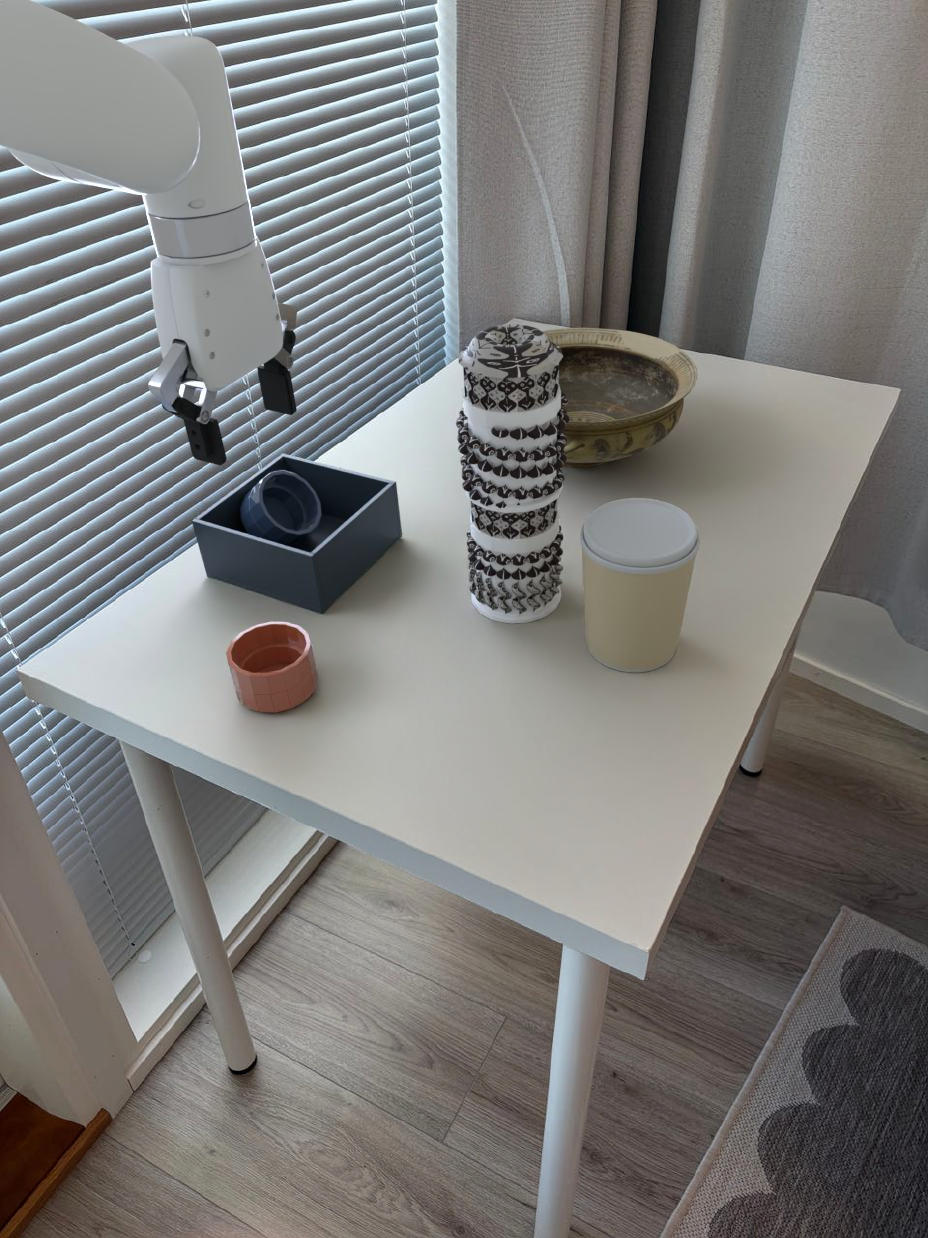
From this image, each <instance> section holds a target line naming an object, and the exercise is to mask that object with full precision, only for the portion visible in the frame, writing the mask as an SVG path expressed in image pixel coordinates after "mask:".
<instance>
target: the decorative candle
mask: <svg viewBox="0 0 928 1238" xmlns="http://www.w3.org/2000/svg"><path fill="white" fill-rule="evenodd" d="M542 331H543V330H541V329H539V328H537V327H534V326H531V325H528V324H518V323H508V324H499V325H494V326H490V327H487V328H485V329H483V330H481V331H479V332H478V333H476V335H475V336H474V337H473V338H472V339H471V341H470V343H469V344H467V345H465V346H464V348H463V349H462V350H460V352H459V353H458V364H459V365H460V366H461V367H462V369H463V371H462V372H463V386H464V387H463V389H462V403H463V404H462V405H463V406H462V408H460V409H459V412H458V416H459V417H458V418H457V419H456V421H455V425H456V427H457V429H458V430H457V436H456V437H457V438H456V439H457V442H458V444H459V445H458V448H457V451H458V452H459V453H460V454H461V455H462V456H461V457H460V461H459V462H460V465H461V466H462V468H461V479H462V480H463V483H462V489H463V490H464V494H465V496H466V497H467V498H468V499H469V500H470V511H469V528H470V529H468V530H467V531H466V537H467V541H466V546H467V552H468V553H469V554H468V555H467V560H468V562H467V567H468V581H469V587H468V588H469V591H470V597H471V604H472V606H473V607H474V608H475V610H476V611H477V612H478V614H481V615H482V616H484V617H486V618H488V619H490V620H492V621H494V622H499V623H505V624H527V623H528V624H529V623H531V622H534V621H538V620H540V619H544V618H546V617H547V616H548V615H550V613H552V612H553V611H555V610H556V609H557V608H558V606H559V604H560V601H561V600H562V592H561V585H563V583H564V582H563V579H561V578H560V577H561V574H562V572H563V570H564V567H563V565H561V564H560V562H561V561H562V557H561V556H563V554H564V550H563V548H562V547H561V545H562V541H563V540H564V535H563V533H562V526H561V525H560V514H559V508H558V499H559V496H560V495H561V493H562V491H563V489H564V482H565V475H564V474H563V470H562V468H563V467H564V465H563V463H564V462H566V460H567V457H566V455H565V454H564V453H565V451H564V448H565V444H566V443H567V438H566V436H565V435H564V432H563V431H562V430H563V429H564V428H565V427H566V423H568V422H569V416H568V415H567V411H566V410H565V409H564V408H562V407H563V406H565V405H567V404H568V400H566V399H564V398H565V397H566V395H565V394H563V392H561V390H560V386H559V362H560V360H561V359H562V358H563V354H562V350H561V348H560V347H559V346H557V345H556V344H554V343H553V342H552V341H550V339H549V338H548V336H547V335H546V334H545V333H543V332H542ZM561 405H562V407H561ZM557 416H558V421H557ZM465 421H467V422H465Z"/></svg>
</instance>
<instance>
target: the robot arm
mask: <svg viewBox="0 0 928 1238" xmlns="http://www.w3.org/2000/svg"><path fill="white" fill-rule="evenodd" d="M234 114H235V113H234V109H233V105H232V98H231V93H230V86H229V81H228V77H227V71H226V67H225V63H224V59H223V56H222V53H221V52H220V50H219V48H218V47H217V45H215V44H214V43H213V42H212V41H211V40H209V39H207V38H204V37H201V36H195V35H165V36H163V35H162V36H155V37H147V38H142V39H137V40H133V41H130V42H127V43H123V42H121V41H119V40H117V39H115V38H114V37H111V36H109V35H107V34H106V33H104V32H102V31H100V30H97V29H96V28H93V27H91V26H90V25H88V24H86V23H85V22H84V23H83V22H81V21H80V20H78V19H75V18H73V17H72V16H69V15H67V14H64V13H62V12H60V11H57V10H55V9H54V8H51V7H48V6H46V5H44V4H41V3H39V2H37V1H34V0H0V147H3V148H6V149H7V151H8V152H9V153H10V154H11V155H12V156H13V157H14V158H15V159H16V160H17V161H18V162H20V163H21V164H23V165H24V166H25V167H26V168H28V169H30V170H32V171H34V172H36V173H37V174H39V175H42V176H45V177H48V178H51V179H54V180H59V181H63V182H69V183H75V184H80V185H85V186H91V187H93V186H94V187H99V188H105V189H110V190H115V191H119V192H124V193H128V194H133V195H139V196H142V201H143V204H144V207H145V208H144V209H145V213H146V217H147V221H148V225H149V229H150V233H151V236H152V237H151V238H152V241H153V245H154V249H155V253H156V258H154V259H152V260H151V261H150V285H151V297H152V303H153V304H152V307H153V314H154V319H155V320H154V321H155V325H156V332H157V337H158V342H159V348H160V352H161V357H162V361H161V362H160V364H159V366H158V367H157V369H156V371H155V372H154V373H153V374H152V377H151V378H150V380H149V382H148V384H147V387H148V390H149V392H150V393H151V394H152V396H153V397H154V398H155V399H156V400H157V401H158V403H160V404H161V408H162V409H163V410H165V411H167V412H168V413H170V414H171V415H174V416H175V418H177V419H179V420H183V424H184V428H185V432H186V435H187V440H188V444H189V447H190V451H191V455H192V457H193V458H194V459H195V460H197V461H201V462H204V463H208V464H213V465H217V466H222V465H224V464H225V463H227V454H226V449H225V445H224V441H223V436H222V432H221V428H220V424H219V421H218V419H217V418H213V417H212V414H213V410H214V406H215V402H216V398H217V395H218V394H217V393H218V392H220V391H222V390H224V389H226V388H227V387H230V385H233V384H234V383H236V382H238V381H239V380H240V379H242V378H243V377H246V376H247V375H249V374H250V373H253V371H255V370H256V369H257V377H258V381H259V386H260V392H261V396H262V402H263V406H264V407H263V408H264V409H265V410H266V411H270V412H276V413H279V414H284V415H289V416H293V415H294V414H295V413H297V404H296V398H295V392H294V387H293V380H292V375H291V369H293V366H294V361H295V360H294V357H293V356H292V353H293V350H294V347H295V343H296V340H297V335H296V332H295V330H296V326H297V325H296V324H297V317H298V308H297V307H296V306H295V305H292V304H288V303H283V302H280V301H278V298H277V294H276V290H275V285H274V282H273V279H272V274H271V272H270V268H269V264H268V260H267V258H266V255H265V252H264V250H263V248H262V244H261V241H260V239H259V236H258V235H256V230H255V224H254V220H253V214H252V210H253V204H252V201H251V199H250V198H249V192H248V187H247V180H246V175H245V169H244V163H243V158H242V152H241V147H240V142H239V137H238V136H239V135H238V131H237V126H236V120H235V115H234ZM198 378H199V379H202V380H198ZM178 385H180V386H179V389H178V388H177V387H178ZM196 391H200V395H199V399H198V403H197V404H196V403H194V402H193V400H194V397H195V394H196V393H195V392H196Z"/></svg>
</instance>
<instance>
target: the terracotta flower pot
mask: <svg viewBox="0 0 928 1238" xmlns="http://www.w3.org/2000/svg"><path fill="white" fill-rule="evenodd" d="M310 637H311V636H310V634H309V633H308V631H307V630H305V629H304V628H303V627H302V626H301V625H299V624H295V623H292V622H289V621H268V622H263V623H259V624H255V625H252V626H250V627H249V628H247V629H245V630H242V631H240V633H238V634H237V635H236V636H235V637H234V638H233V639H232V640H231V641H230V643H229V645H228V647H227V649H226V651H225V655H226V661H227V666H228V669H229V672H230V676H231V679H232V684H233V687H234V690H235V694H236V697H237V700H238V701H239V702H240V703H241V704H242V705H243V706H244V707H246V708H248V709H250V710H253V711H256V712H259V713H260V712H261V713H269V714H271V713H281V712H285V711H289V710H291V709H294V708H296V707H297V706H299V705H301V704H303V703H304V702H306V701H307V700H308V699H309V697H311V695H313V693H314V692H315V691H316V689H317V685H318V683H319V674H318V669H317V665H316V660H315V654H314V650H313V649H314V648H313V645H312V641H311V638H310Z"/></svg>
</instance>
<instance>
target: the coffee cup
mask: <svg viewBox="0 0 928 1238" xmlns="http://www.w3.org/2000/svg"><path fill="white" fill-rule="evenodd" d="M579 542H580V546H581V567H582V587H583V603H584V605H583V606H584V607H583V608H584V625H585V626H584V627H585V638H586V645H587V646H586V647H587V649H588V652H589V653H590V654H591V655H592V657H593V658H594V659H595V660H596V661H597V662H598V663H600V664H601V665H603V666H604V667H607V668H609V669H612V670H614V671H615V670H616V671H619V672H625V673H646V672H650V671H654V670H657V669H659V668H662V667H663V666H665V665H666V664H667V663H669V662H670V661H671V659H672V658H673V656H674V655H675V654H676V651H677V647H678V644H679V640H680V635H681V629H682V626H683V621H684V616H685V612H686V606H687V601H688V597H689V591H690V587H691V582H692V577H693V573H694V572H693V571H694V569H695V561H696V556H697V553H698V551H699V548H700V543H701V535H700V531H699V529H698V527H697V524H696V522H695V519H693V518H692V517H691V516H690V514H689V513H688V512H686V511H685V510H683V508H681V507H678V506H676V505H674V504H672V503H669V502H666V501H662V500H659V499H653V498H646V497H628V498H627V497H626V498H621V499H616V500H612V501H609V502H606V503H604V504H601V505H600V506H598V507H596V508H595V509H593V510H592V511H591V512H590V513H589V515H587V517H586V519H585V520H584V523H582V525H581V528H580V531H579Z"/></svg>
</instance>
